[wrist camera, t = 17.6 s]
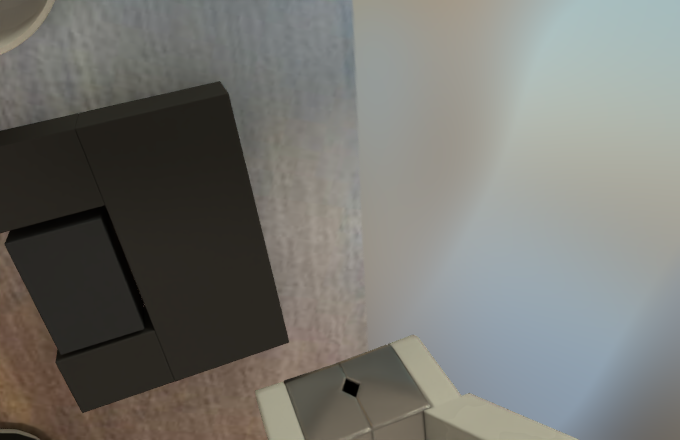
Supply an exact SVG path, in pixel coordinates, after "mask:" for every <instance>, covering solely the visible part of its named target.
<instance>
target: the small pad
mask: <svg viewBox="0 0 680 440" xmlns="http://www.w3.org/2000/svg"><path fill="white" fill-rule="evenodd" d="M5 246H6V248H7V250H8V252H9V254H10V256H11V258H12V260H13V262H14V264H15V266H16V268H17V270H18V272H19V274H20V276H21V278H22V280H23V282H24V284H25V285H26V287H27V289H28V291H29V293H30V295H31V297H32V299H33V301H34V303H35V305H36V307H37V309H38V311H39V313H40V315H41V317H42V319H43V321H44V323H45V325H46V327H47V329H48V331H49V333H50V335H51V337H52V339H53V341H54V343H55V345H56V347H57V348H58V350H59V352H60V354H61V355H63V354H66V353H69V352H72V351H75V350H79V349H82V348H85V347H88V346H91V345H95V344H98V343H101V342H104V341H108V340H111V339H114V338H117V337H120V336H124V335H127V334H130V333H133V332H137V331H140V330H143V329H144V313H143V301H142V299H141V296H140V294H139V291H138V288H137V286H136V283H135V281H134V278H133V275H132V273H131V270H130V268H129V265H128V263H127V260H126V257H125V255H124V252H123V250H122V247H121V244H120V242H119V239H118V237H117V234H116V232H115V229H114V226H113V224H112V221H111V219H110V216H109V213H108V211H107V208H106V206H105V205H104V206H101V207H97V208H93V209H89V210H86V211H82V212H78V213H74V214H71V215H67V216H63V217H59V218H55V219H52V220H48V221H44V222H40V223H37V224H33V225H29V226H25V227H21V228H18V229H14V230H10V232H9V234H8V237H7V239H6V242H5Z"/></svg>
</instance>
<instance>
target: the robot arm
mask: <svg viewBox="0 0 680 440" xmlns="http://www.w3.org/2000/svg"><path fill="white" fill-rule="evenodd" d="M255 394H256V400H257V403H258V407H259V410H260V414H261V417H262V421H263V424H264V428H265V431H266V435H267V438H268V440H578V439H576V438H573V437H571V436H569V435H566V434H564V433H562V432H560V431H557V430H555V429H552V428H550V427H548V426H545V425H543V424H541V423H538V422H536V421H534V420H531V419H529V418H527V417H524V416H522V415H519V414H517V413H515V412H512V411H510V410H508V409H505V408H503V407H501V406H498V405H496V404H494V403H491V402H489V401H486V400H484V399H482V398H479V397H477V396H475V395H472V394H470V393H468V394H466V395H463V396H461V394H460V393H459V392H458V390H457V389H456V388H455V386H454V385H453V384H452V382H451V381H450V380H449V378H448V377H447V376H446V374H445V373H444V372H443V370H442V369H441V368H440V366H439V365H438V364H437V362H436V361H435V359H434V358H433V357H432V356H431V354H430V353H429V351H428V350H427V349H426V347H425V346H424V345H423V343H422V342H421V340H420V339H419V338H418V337H417V336H415V335H411V336H408V337H406V338H403V339H400V340H398V341H395V342H392V343H390V344H388V345H384V346H381V347H379V348H376V349H374V350H370V351H368V352H365V353H362V354H360V355H357V356H354V357H351V358H349V359H346V360H343V361H340V362H338V363H336V364H333V365H330V366H327V367H324V368H321V369H318V370H315V371H312V372H309V373H306V374H303V375H300V376H297V377H294V378H291V379H287V380H284V383H283V382H281V383H277V384H274V385H271V386H268V387H265V388H262V389H259V390H256V391H255Z"/></svg>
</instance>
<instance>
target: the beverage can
mask: <svg viewBox="0 0 680 440" xmlns="http://www.w3.org/2000/svg"><path fill="white" fill-rule="evenodd" d="M0 440H40V439H39V438H38V437H36V436H34V435H32V434H30V433H26V432H23V431H20V430H17V429H0Z"/></svg>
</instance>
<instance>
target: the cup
mask: <svg viewBox="0 0 680 440" xmlns="http://www.w3.org/2000/svg"><path fill="white" fill-rule="evenodd" d="M54 1H55V0H0V55H1V54H3V53H5V52H8V51H10V50H11V49H13V48H15V47H17V46H18V45H20V44H21V43H23V42H24V41H25V40H26V39H28V38H29V37H30V36H31V35H32V34H33V33H34V32H35V31H36V30H37V29H38V28H39V27H40V25H41V24H42V23H43V21H44V20H45V19H46V17H47V15H48V14H49V12H50V10H51V8H52V6H53V4H54Z"/></svg>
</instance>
